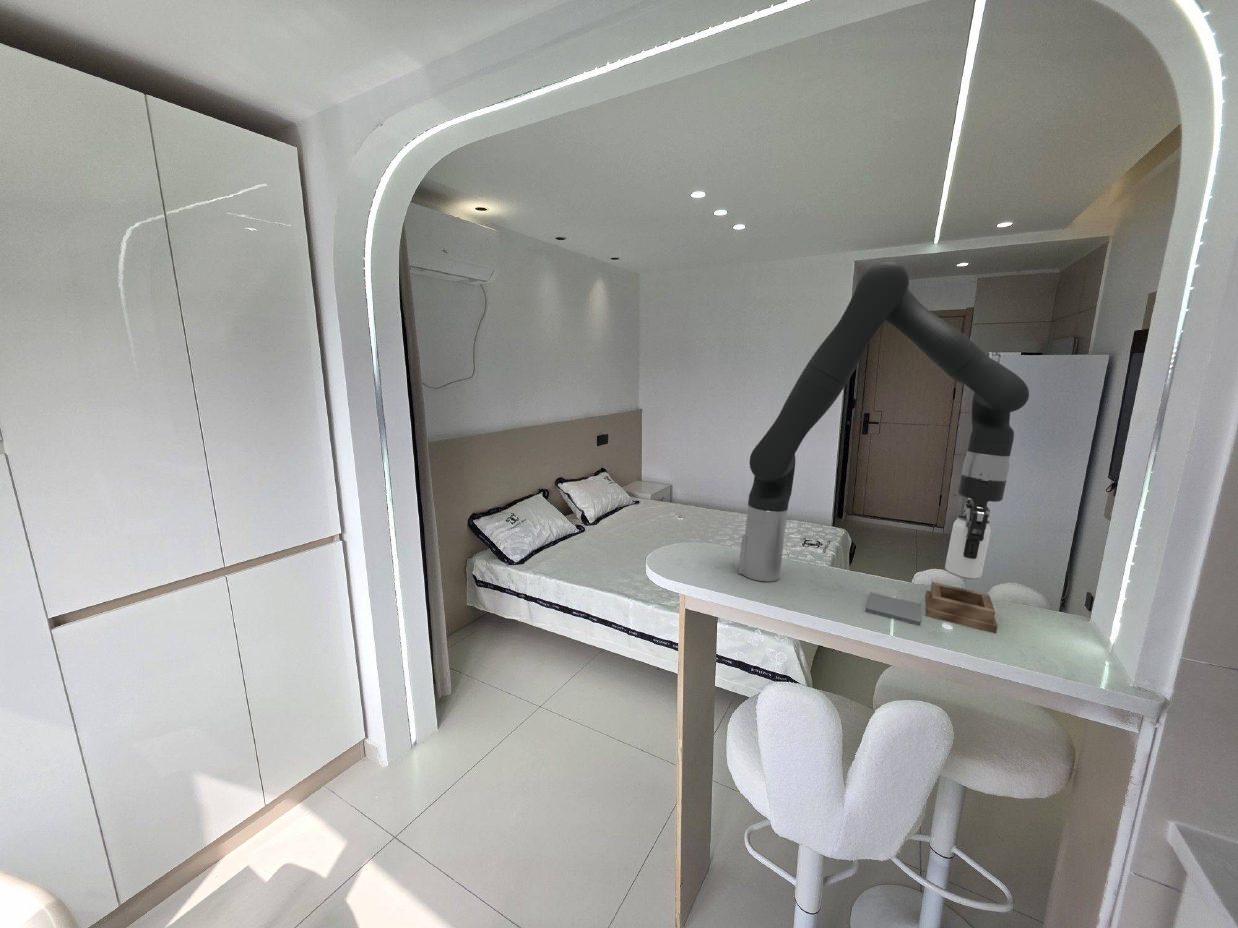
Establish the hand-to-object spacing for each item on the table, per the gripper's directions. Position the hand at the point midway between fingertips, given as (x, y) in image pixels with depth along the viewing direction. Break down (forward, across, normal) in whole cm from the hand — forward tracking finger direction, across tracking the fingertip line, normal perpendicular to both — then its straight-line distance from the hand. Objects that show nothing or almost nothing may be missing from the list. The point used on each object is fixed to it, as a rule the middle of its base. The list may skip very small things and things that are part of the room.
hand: (968, 552), depth 104 cm
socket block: (+14, 0, 0) cm, 14 cm away
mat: (+14, +7, -12) cm, 19 cm away
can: (+5, 0, 0) cm, 5 cm away
